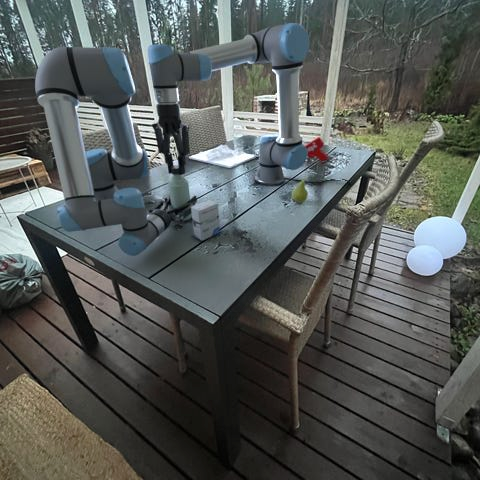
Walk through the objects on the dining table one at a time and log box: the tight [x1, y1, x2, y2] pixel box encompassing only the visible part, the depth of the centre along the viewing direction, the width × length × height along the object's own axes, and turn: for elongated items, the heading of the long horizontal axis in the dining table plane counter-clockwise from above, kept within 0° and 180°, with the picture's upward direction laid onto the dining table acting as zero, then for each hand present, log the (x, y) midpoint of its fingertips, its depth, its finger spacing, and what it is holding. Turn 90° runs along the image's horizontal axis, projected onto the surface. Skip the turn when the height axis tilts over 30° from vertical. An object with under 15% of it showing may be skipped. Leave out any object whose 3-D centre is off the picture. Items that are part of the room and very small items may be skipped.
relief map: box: [188, 143, 257, 169], centre depth 179 cm, size 27×35×5 cm
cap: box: [171, 164, 180, 175], centre depth 100 cm, size 4×4×2 cm
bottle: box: [167, 174, 192, 222], centre depth 105 cm, size 8×8×20 cm
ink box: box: [191, 199, 221, 241], centre depth 95 cm, size 8×5×12 cm, turn 134°
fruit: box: [291, 174, 311, 204], centre depth 118 cm, size 7×8×12 cm
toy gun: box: [304, 136, 329, 164], centre depth 170 cm, size 18×4×15 cm
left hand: (186, 197), depth 111 cm, fingers closed on bottle, 8 cm apart
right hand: (176, 173), depth 101 cm, fingers closed on cap, 4 cm apart
